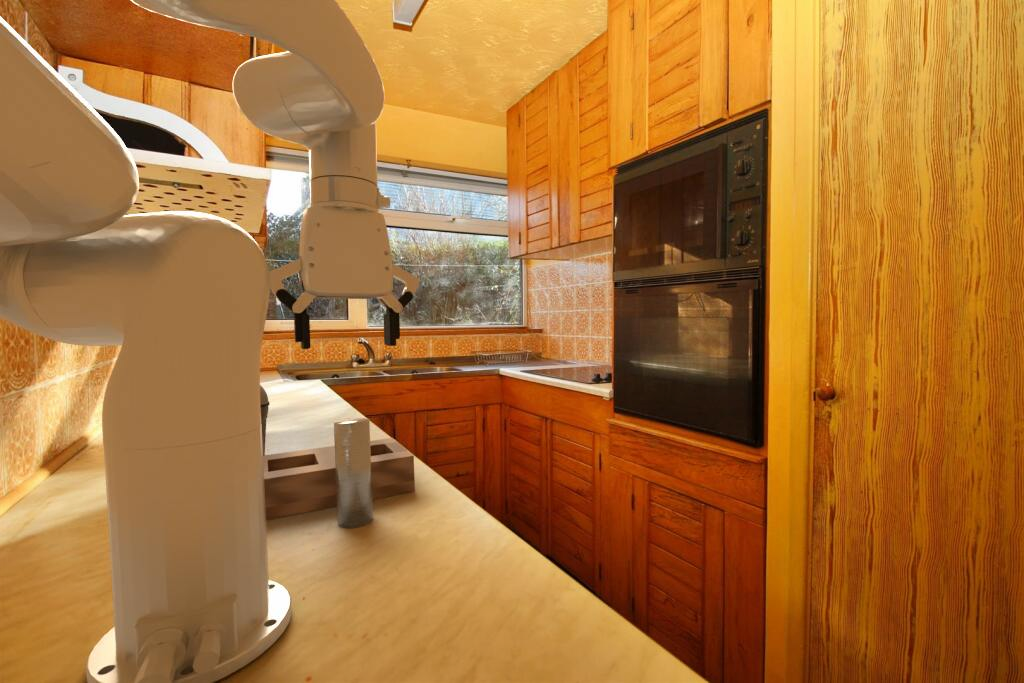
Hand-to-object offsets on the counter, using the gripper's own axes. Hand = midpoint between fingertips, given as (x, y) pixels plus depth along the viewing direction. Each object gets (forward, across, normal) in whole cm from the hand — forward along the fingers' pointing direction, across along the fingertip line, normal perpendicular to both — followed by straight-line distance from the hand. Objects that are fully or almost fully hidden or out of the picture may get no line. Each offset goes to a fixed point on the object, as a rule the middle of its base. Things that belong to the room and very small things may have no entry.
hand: (349, 347), depth 56 cm
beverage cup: (+21, +12, -24) cm, 34 cm away
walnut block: (+21, +1, -12) cm, 24 cm away
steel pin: (+21, 0, 0) cm, 21 cm away
